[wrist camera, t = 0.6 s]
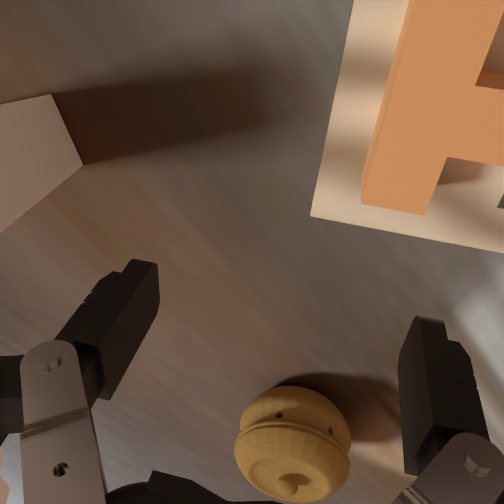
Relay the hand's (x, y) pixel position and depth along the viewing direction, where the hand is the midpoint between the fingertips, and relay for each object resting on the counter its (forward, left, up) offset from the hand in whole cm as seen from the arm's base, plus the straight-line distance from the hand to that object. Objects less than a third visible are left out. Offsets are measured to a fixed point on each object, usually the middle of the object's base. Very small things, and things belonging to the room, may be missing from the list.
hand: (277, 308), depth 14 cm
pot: (+33, +3, -21) cm, 39 cm away
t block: (-2, +9, -19) cm, 22 cm away
